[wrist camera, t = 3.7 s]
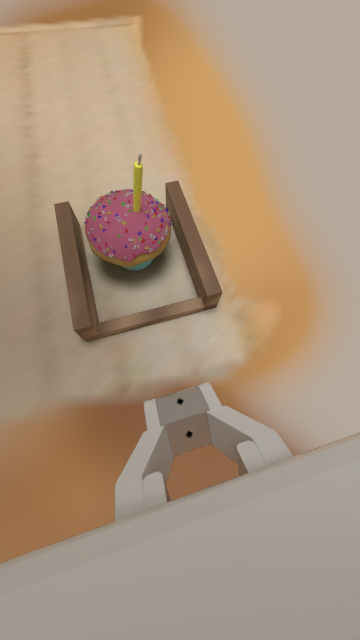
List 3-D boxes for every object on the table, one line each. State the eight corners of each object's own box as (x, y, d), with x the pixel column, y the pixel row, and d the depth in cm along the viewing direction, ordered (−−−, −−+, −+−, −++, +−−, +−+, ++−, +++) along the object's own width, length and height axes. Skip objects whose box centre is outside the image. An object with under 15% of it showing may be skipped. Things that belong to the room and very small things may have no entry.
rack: (86, 341, 25) (73, 330, 22) (67, 227, 30) (54, 204, 27) (216, 307, 27) (222, 292, 23) (177, 204, 32) (178, 180, 28)
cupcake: (170, 225, 31) (169, 116, 19) (172, 285, 28) (173, 198, 16) (100, 225, 30) (58, 114, 19) (94, 287, 27) (41, 198, 16)
